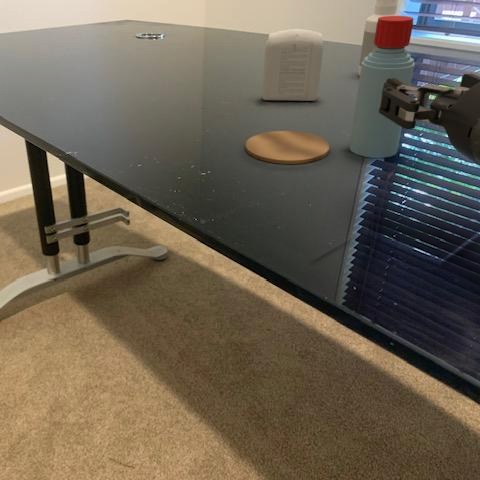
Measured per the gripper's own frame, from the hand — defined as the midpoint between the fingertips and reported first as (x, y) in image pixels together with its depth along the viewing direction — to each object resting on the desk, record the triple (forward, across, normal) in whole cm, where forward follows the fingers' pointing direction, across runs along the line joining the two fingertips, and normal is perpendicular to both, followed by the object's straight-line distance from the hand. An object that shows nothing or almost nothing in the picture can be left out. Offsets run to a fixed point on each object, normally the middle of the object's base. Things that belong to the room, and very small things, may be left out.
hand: (425, 85), depth 57 cm
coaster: (+14, +11, +12) cm, 21 cm away
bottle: (+11, 0, +12) cm, 16 cm away
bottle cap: (+11, 0, -2) cm, 11 cm away
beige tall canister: (+51, -17, +12) cm, 55 cm away
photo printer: (+38, +5, +12) cm, 40 cm away
